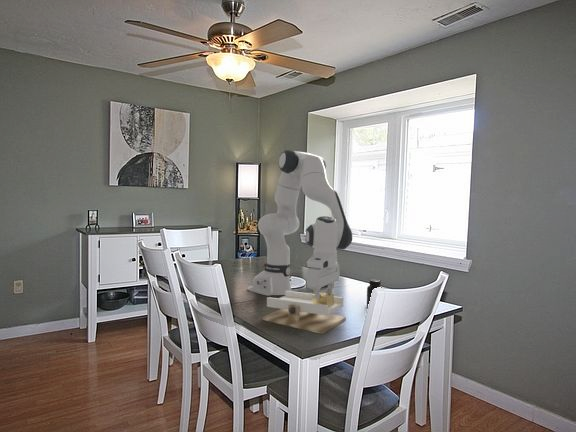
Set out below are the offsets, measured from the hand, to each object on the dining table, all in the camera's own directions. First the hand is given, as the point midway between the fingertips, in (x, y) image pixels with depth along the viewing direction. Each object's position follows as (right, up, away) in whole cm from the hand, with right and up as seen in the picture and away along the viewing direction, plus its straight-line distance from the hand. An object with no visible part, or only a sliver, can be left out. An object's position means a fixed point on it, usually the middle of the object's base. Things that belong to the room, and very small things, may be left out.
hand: (323, 296), depth 151 cm
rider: (0, -3, 0) cm, 3 cm away
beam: (-7, -4, +5) cm, 9 cm away
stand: (-7, -10, +5) cm, 13 cm away
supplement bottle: (+25, -10, +25) cm, 37 cm away
